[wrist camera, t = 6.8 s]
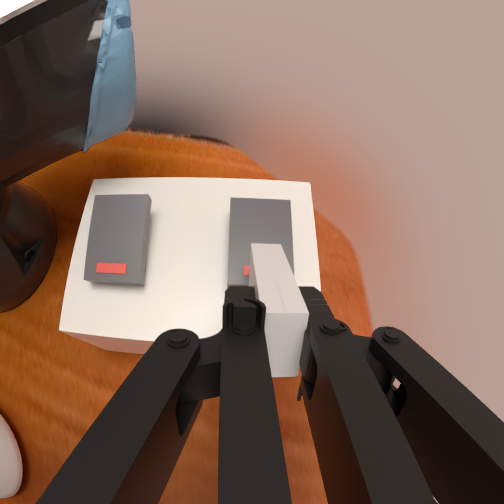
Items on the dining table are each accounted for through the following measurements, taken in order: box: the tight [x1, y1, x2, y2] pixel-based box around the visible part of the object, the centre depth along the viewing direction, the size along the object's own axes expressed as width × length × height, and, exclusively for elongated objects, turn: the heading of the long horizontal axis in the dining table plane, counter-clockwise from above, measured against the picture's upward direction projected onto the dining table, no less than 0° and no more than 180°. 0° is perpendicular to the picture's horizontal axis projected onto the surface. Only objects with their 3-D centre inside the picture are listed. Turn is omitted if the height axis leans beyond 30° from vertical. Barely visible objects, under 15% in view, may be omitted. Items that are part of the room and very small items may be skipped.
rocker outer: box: [227, 197, 294, 289], centre depth 19 cm, size 6×4×1 cm
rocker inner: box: [83, 194, 152, 285], centre depth 19 cm, size 6×4×1 cm
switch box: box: [59, 177, 321, 354], centre depth 24 cm, size 12×17×9 cm
